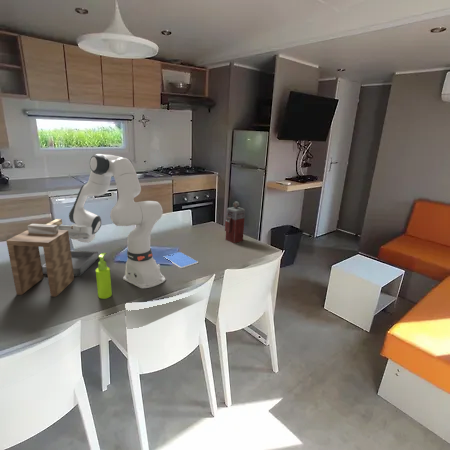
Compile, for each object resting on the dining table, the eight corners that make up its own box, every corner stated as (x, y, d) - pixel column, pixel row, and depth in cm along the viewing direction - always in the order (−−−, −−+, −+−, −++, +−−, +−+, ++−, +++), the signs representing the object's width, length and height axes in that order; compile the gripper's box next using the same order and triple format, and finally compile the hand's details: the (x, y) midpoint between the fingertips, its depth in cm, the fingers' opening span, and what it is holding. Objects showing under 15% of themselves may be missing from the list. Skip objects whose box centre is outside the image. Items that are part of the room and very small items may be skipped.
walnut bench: (38, 277, 150) (30, 228, 142) (74, 279, 150) (68, 230, 142) (16, 294, 135) (6, 240, 127) (56, 296, 135) (48, 242, 127)
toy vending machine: (222, 240, 212) (224, 201, 203) (234, 237, 219) (236, 199, 210) (231, 244, 205) (233, 204, 197) (243, 240, 213) (245, 202, 204)
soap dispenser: (114, 290, 142) (111, 251, 136) (109, 298, 135) (106, 258, 129) (101, 290, 141) (98, 251, 135) (96, 298, 135) (92, 257, 129)
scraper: (48, 223, 151) (47, 216, 150) (71, 224, 151) (70, 217, 150) (28, 233, 137) (27, 225, 136) (54, 234, 136) (53, 227, 135)
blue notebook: (162, 258, 180) (162, 256, 180) (180, 253, 189) (180, 251, 188) (180, 269, 167) (180, 267, 167) (198, 263, 175) (198, 261, 175)
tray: (64, 256, 175) (63, 250, 174) (98, 258, 175) (97, 251, 174) (41, 273, 154) (40, 266, 153) (80, 275, 154) (79, 268, 153)
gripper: (59, 225, 168) (44, 219, 155) (95, 227, 168) (83, 221, 155) (57, 236, 167) (42, 231, 154) (93, 238, 167) (81, 233, 153)
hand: (63, 226), depth 154 cm, fingers open, 8 cm apart
